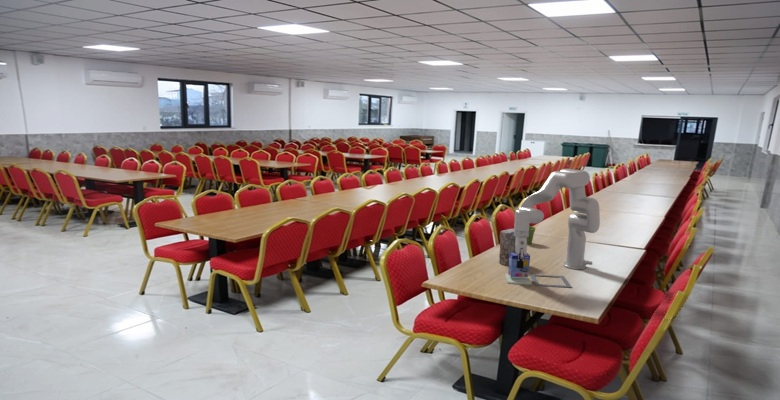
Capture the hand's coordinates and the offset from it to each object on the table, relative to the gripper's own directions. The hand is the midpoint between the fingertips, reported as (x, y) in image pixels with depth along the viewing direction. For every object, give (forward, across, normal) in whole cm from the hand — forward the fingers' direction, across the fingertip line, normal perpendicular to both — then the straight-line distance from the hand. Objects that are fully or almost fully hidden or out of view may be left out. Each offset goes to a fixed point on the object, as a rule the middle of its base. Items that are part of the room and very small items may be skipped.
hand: (519, 265), depth 252 cm
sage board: (+8, 0, 0) cm, 8 cm away
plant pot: (+8, +81, -17) cm, 83 cm away
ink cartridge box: (+6, 0, 0) cm, 6 cm away
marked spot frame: (+8, +1, -17) cm, 19 cm away
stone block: (+8, +31, +1) cm, 32 cm away
